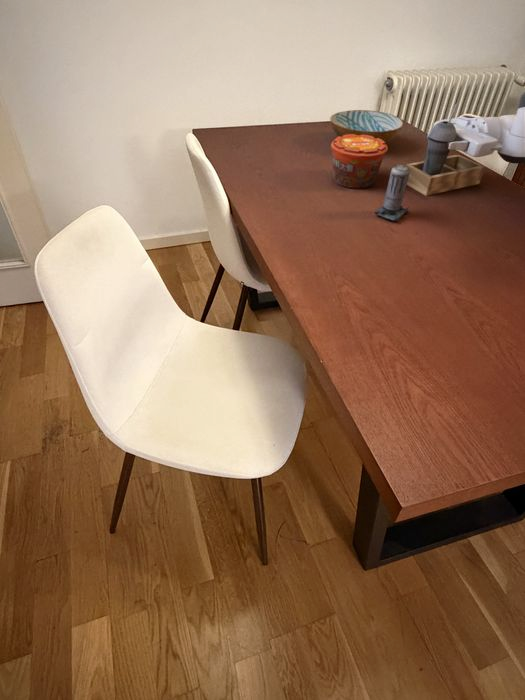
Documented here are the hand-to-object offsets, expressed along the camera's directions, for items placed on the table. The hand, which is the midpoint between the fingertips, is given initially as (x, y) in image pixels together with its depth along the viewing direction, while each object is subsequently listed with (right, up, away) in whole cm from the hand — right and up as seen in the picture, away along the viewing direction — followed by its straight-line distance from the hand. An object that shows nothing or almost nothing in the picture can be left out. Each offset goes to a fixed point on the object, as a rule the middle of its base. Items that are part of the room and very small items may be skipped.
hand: (438, 140), depth 110 cm
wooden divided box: (+5, -7, +11) cm, 14 cm away
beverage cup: (+1, -8, +8) cm, 11 cm away
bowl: (-12, +16, +34) cm, 39 cm away
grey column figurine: (-15, -22, -5) cm, 27 cm away
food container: (-21, -6, +11) cm, 24 cm away
